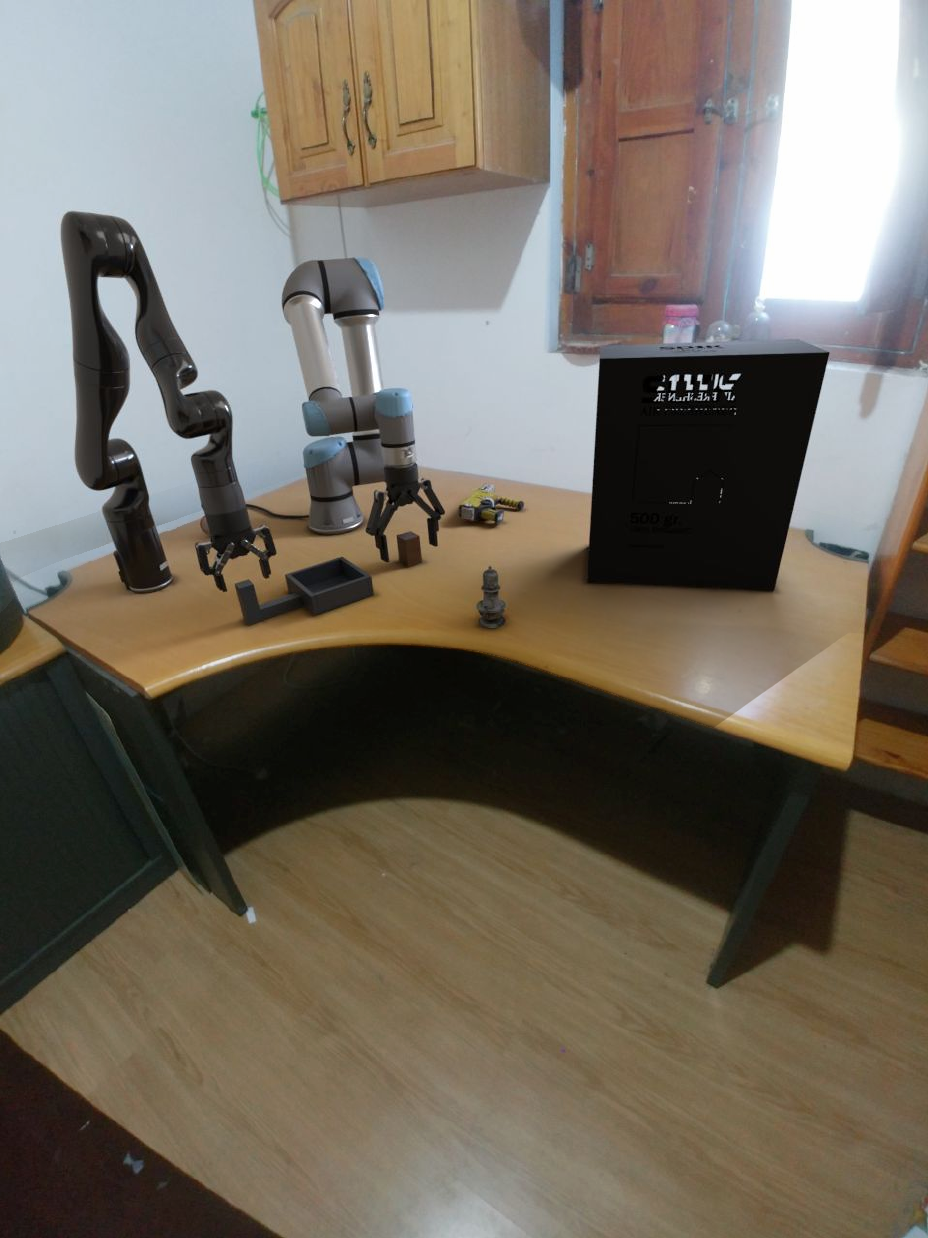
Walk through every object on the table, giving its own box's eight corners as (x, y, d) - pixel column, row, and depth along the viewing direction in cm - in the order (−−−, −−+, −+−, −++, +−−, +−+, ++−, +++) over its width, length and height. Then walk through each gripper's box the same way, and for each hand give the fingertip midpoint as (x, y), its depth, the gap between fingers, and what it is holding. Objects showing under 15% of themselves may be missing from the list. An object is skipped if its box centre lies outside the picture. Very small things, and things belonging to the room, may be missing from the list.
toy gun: (532, 488, 178) (484, 481, 182) (510, 513, 158) (457, 504, 162) (530, 504, 181) (483, 496, 185) (509, 529, 161) (456, 520, 165)
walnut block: (399, 562, 146) (396, 535, 142) (413, 557, 147) (410, 530, 144) (408, 567, 143) (405, 540, 139) (422, 562, 145) (419, 535, 141)
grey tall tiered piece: (504, 629, 116) (503, 573, 110) (474, 627, 117) (471, 571, 111) (508, 614, 120) (507, 559, 114) (479, 612, 122) (477, 558, 116)
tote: (258, 636, 118) (248, 598, 114) (235, 610, 128) (225, 574, 124) (374, 595, 131) (369, 559, 127) (345, 574, 141) (339, 540, 137)
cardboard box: (754, 550, 140) (797, 339, 118) (774, 590, 123) (829, 352, 101) (589, 545, 148) (601, 345, 125) (586, 582, 131) (599, 358, 108)
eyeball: (213, 540, 164) (207, 519, 161) (198, 536, 167) (192, 516, 164) (231, 532, 168) (225, 512, 165) (216, 529, 171) (211, 509, 168)
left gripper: (190, 520, 106) (215, 602, 114) (268, 500, 113) (286, 578, 121) (179, 510, 111) (204, 589, 119) (254, 492, 118) (272, 567, 126)
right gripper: (357, 479, 124) (371, 572, 135) (455, 455, 137) (461, 542, 147) (341, 472, 130) (355, 562, 140) (437, 450, 142) (443, 534, 152)
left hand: (245, 583), depth 120 cm, fingers open, 8 cm apart
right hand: (409, 552), depth 143 cm, fingers open, 13 cm apart
